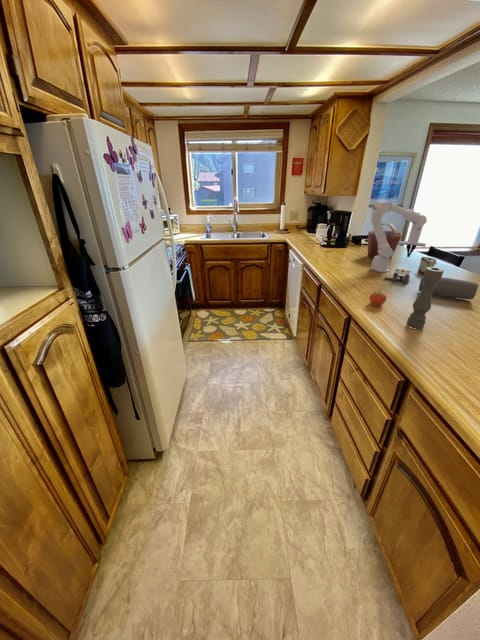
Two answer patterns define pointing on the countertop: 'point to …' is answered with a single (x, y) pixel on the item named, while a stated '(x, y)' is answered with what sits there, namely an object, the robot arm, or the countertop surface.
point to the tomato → (377, 298)
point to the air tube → (399, 278)
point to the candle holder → (424, 297)
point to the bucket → (391, 237)
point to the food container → (426, 264)
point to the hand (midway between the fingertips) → (408, 256)
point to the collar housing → (401, 273)
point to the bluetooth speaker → (453, 288)
